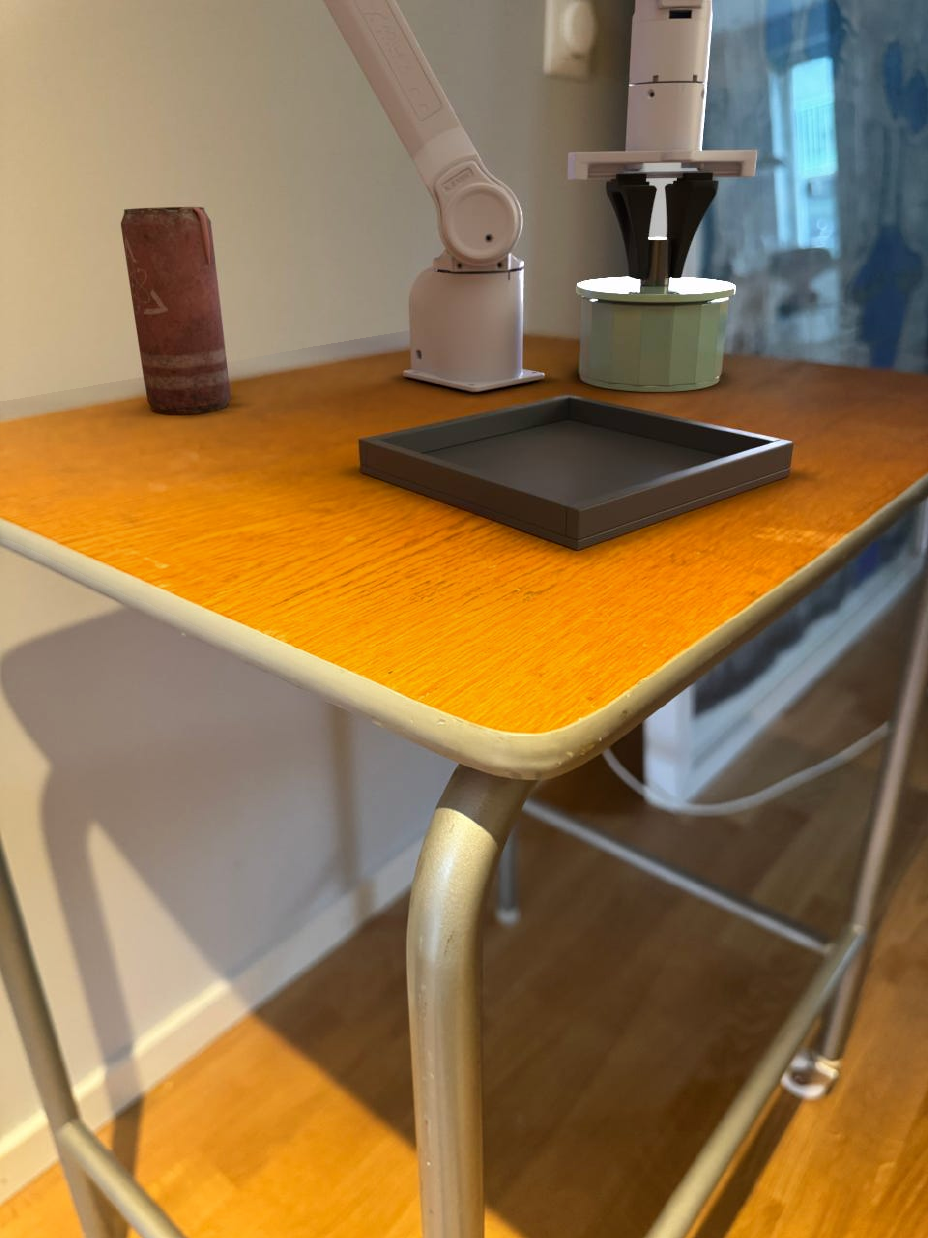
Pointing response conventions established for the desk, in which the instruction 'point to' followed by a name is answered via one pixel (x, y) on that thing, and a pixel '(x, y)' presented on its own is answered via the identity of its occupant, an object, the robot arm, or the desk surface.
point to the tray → (575, 466)
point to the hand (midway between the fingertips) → (654, 277)
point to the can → (176, 308)
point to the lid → (656, 283)
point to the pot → (652, 345)
